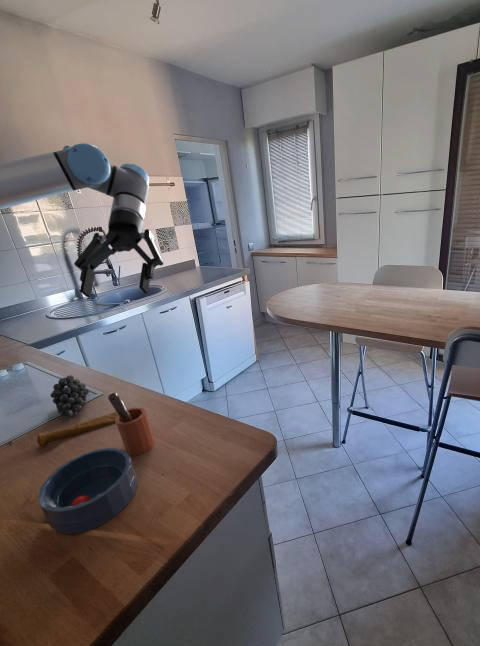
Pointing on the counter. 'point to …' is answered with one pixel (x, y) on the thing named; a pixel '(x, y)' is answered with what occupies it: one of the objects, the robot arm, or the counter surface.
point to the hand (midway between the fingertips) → (114, 292)
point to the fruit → (69, 396)
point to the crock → (135, 432)
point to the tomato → (80, 500)
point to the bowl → (88, 490)
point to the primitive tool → (75, 429)
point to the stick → (119, 407)
